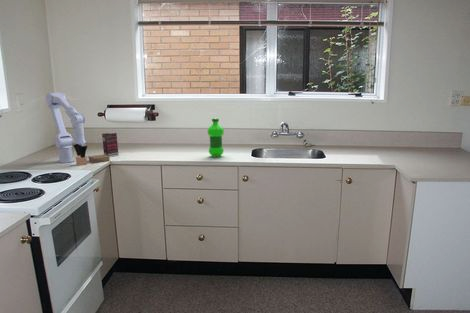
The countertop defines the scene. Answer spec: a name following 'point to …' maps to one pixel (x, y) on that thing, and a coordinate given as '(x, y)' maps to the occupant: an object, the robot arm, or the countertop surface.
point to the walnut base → (99, 158)
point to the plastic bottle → (215, 138)
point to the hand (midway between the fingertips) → (81, 156)
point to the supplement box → (110, 144)
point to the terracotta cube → (81, 160)
